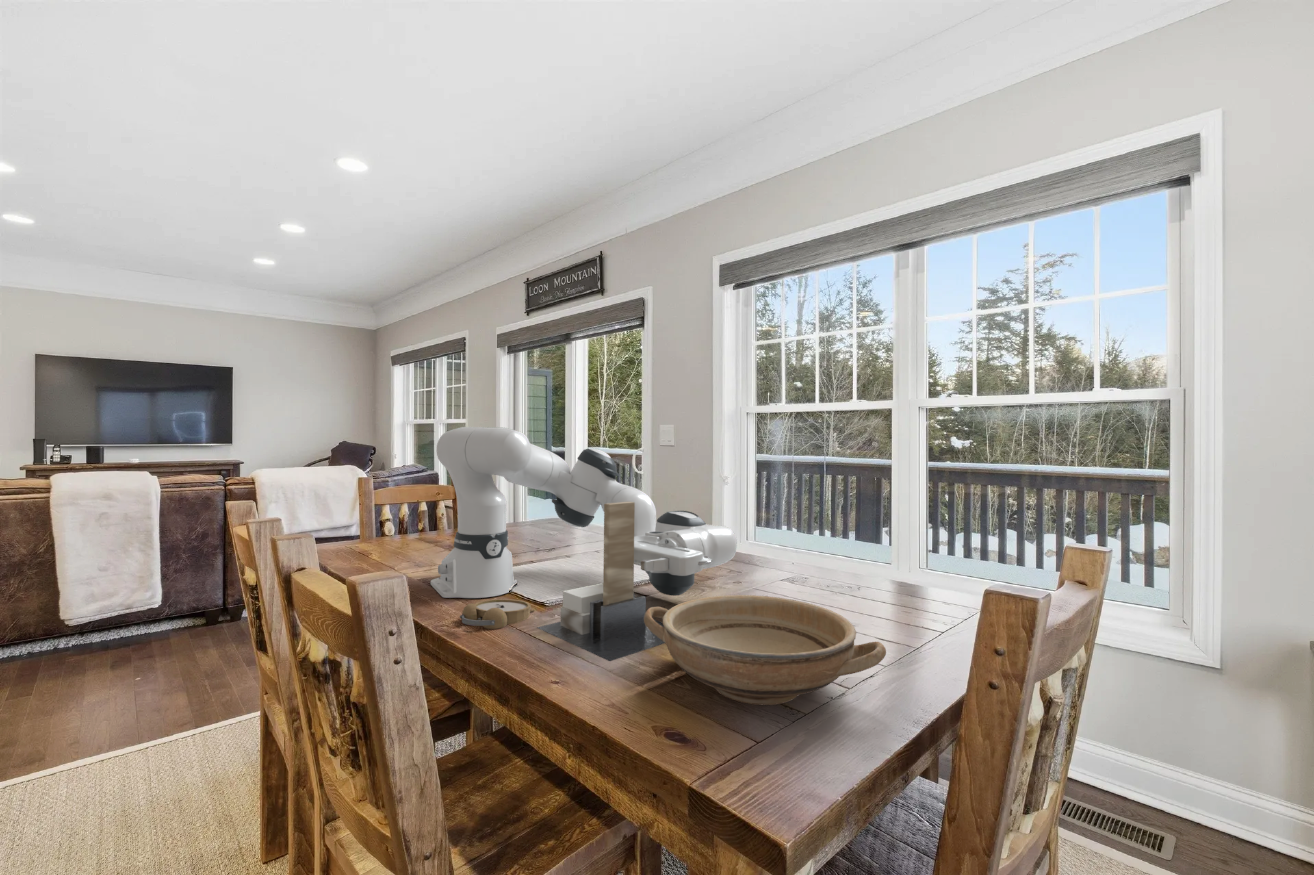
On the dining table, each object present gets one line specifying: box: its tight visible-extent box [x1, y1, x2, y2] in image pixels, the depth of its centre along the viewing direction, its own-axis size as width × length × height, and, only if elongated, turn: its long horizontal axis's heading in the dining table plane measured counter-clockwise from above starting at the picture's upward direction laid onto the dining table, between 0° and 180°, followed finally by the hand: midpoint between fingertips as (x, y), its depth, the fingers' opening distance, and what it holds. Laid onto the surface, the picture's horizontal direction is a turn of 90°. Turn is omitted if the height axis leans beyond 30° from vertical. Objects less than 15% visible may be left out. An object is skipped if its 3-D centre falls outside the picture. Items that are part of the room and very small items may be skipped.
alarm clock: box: [459, 598, 535, 630], centre depth 117 cm, size 11×5×15 cm
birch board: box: [602, 502, 635, 605], centre depth 110 cm, size 2×6×24 cm, turn 133°
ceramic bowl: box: [644, 594, 887, 706], centre depth 89 cm, size 37×29×10 cm
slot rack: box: [536, 593, 666, 662], centre depth 111 cm, size 22×20×7 cm
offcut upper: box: [562, 582, 603, 614], centre depth 115 cm, size 6×10×3 cm, turn 133°
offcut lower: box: [560, 606, 590, 635], centre depth 115 cm, size 7×12×4 cm, turn 133°
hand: (626, 561), depth 111 cm, fingers open, 8 cm apart
